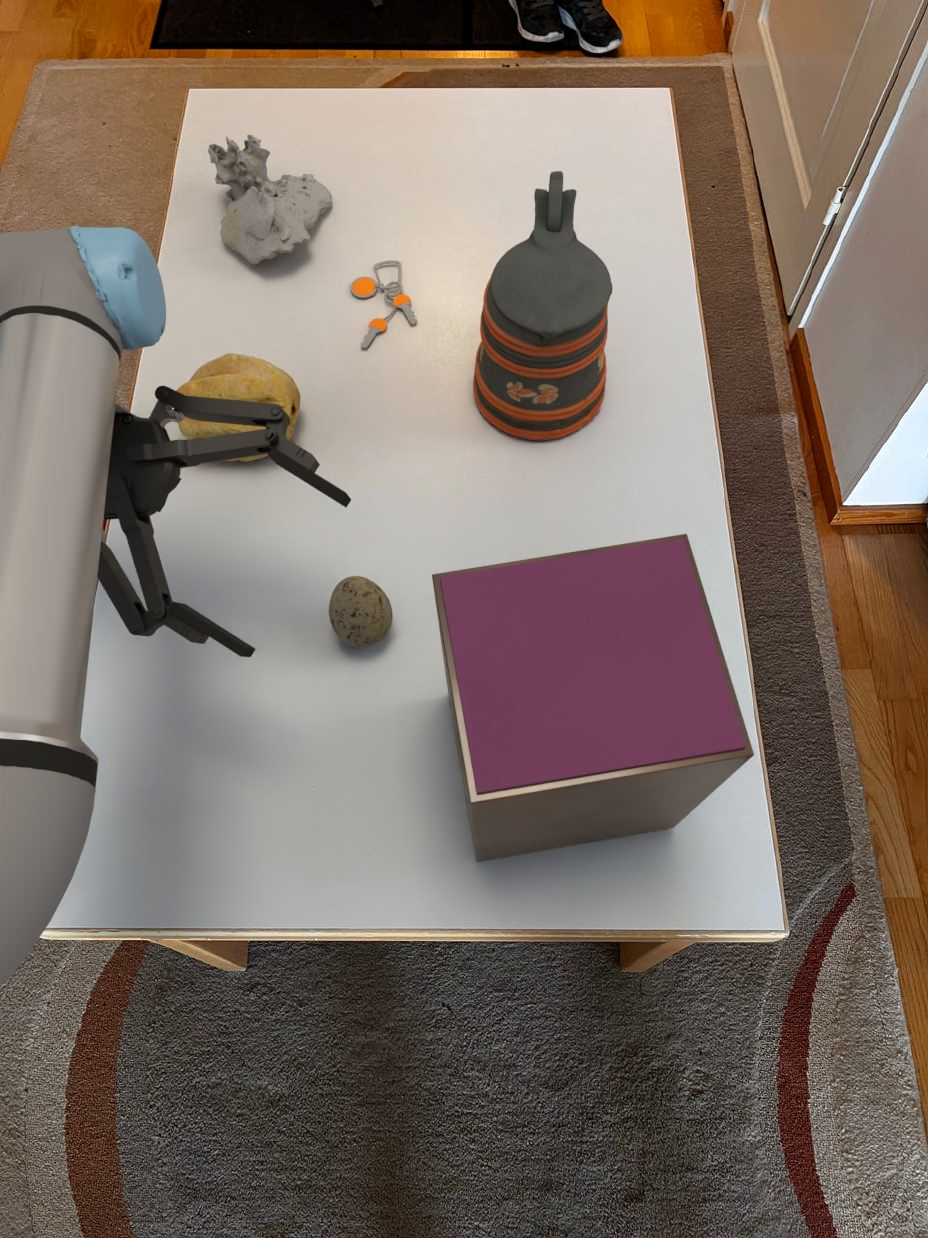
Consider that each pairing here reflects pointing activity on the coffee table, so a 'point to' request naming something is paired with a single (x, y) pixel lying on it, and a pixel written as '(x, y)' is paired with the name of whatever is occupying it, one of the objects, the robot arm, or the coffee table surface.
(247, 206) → the coral
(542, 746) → the cloth
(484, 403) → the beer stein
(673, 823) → the plinth
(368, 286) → the key chain
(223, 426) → the tan rounded lump
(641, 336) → the coffee table surface
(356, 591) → the decorative egg
